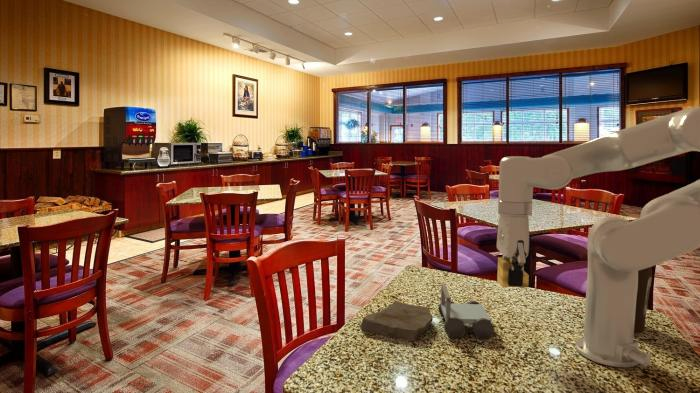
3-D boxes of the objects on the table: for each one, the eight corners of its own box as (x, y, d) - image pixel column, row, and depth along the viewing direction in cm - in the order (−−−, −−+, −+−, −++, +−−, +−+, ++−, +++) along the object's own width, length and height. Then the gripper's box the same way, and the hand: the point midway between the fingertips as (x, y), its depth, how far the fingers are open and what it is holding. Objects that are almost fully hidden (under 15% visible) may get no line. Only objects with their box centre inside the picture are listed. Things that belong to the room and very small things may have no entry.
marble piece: (359, 331, 106) (359, 316, 105) (383, 311, 118) (383, 297, 118) (420, 346, 97) (420, 329, 97) (438, 323, 110) (438, 308, 110)
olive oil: (602, 330, 104) (609, 235, 101) (596, 314, 114) (601, 227, 111) (652, 337, 100) (660, 239, 97) (641, 320, 109) (648, 230, 106)
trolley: (481, 318, 112) (482, 283, 111) (493, 339, 100) (495, 300, 98) (438, 317, 113) (438, 282, 112) (444, 338, 101) (445, 299, 99)
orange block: (521, 281, 100) (522, 257, 99) (528, 287, 96) (529, 262, 95) (497, 280, 101) (498, 257, 100) (502, 286, 96) (503, 262, 95)
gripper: (489, 203, 104) (487, 271, 107) (509, 214, 88) (506, 294, 90) (519, 203, 104) (516, 271, 106) (545, 214, 87) (540, 295, 89)
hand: (511, 281), depth 98 cm, fingers closed on orange block, 4 cm apart
